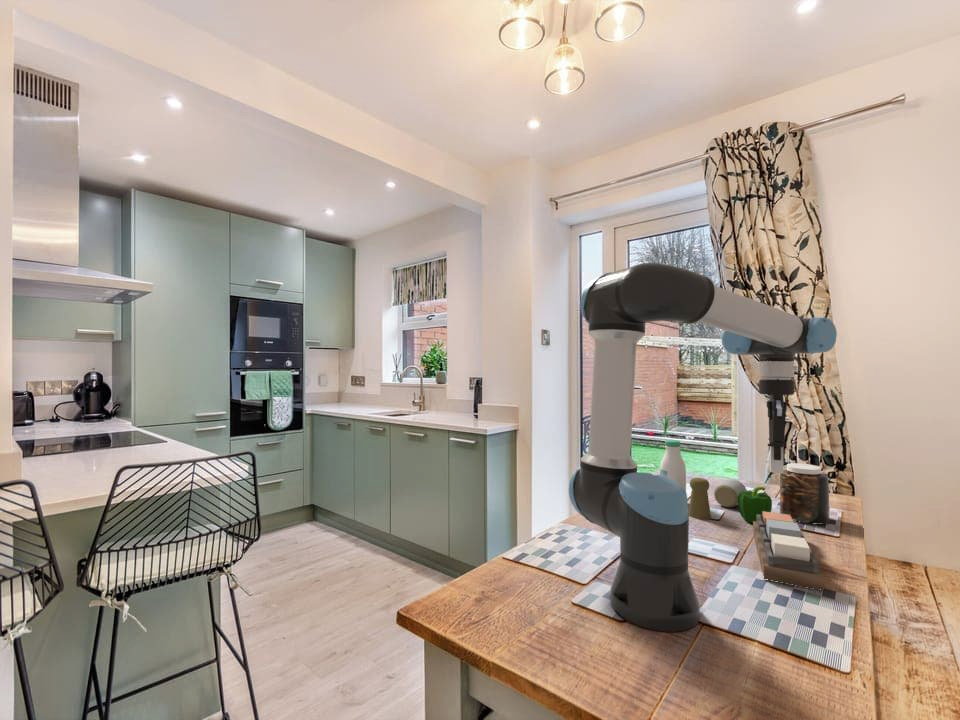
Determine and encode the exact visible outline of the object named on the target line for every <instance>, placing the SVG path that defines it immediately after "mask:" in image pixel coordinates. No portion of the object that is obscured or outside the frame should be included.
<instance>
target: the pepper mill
mask: <svg viewBox="0 0 960 720" xmlns="http://www.w3.org/2000/svg"><path fill="white" fill-rule="evenodd" d="M689 487H690V489H691V492H690V493H691V494H690V501H689V506H688V508H689V518H693V519H698V520H710V519H711V518H712V515H711V507H710V501H709V500H710V499H709V494H708V490H709V488H710V482H709V481H708V479H706V478H704V477H693V478H691V479H690V480H689ZM710 517H711V518H710ZM709 518H710V519H709Z"/></svg>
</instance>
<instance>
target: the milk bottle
mask: <svg viewBox="0 0 960 720" xmlns="http://www.w3.org/2000/svg"><path fill="white" fill-rule="evenodd" d="M664 447H665V452H664V455H663V457H662V459H661V461H660V468H659V475H660V476H663V477H666V478H669V479H671V480H673V481H675V482H677V483H678V484H679V485H681V486H682V487H683V489H684V490H685V492H686V493H687V471H686V469H687V468H686V463H685V461H684V459H683V457H682V454H681V441H680V440H676V439H667V440H665V442H664Z"/></svg>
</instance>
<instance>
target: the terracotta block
mask: <svg viewBox="0 0 960 720" xmlns="http://www.w3.org/2000/svg"><path fill="white" fill-rule="evenodd" d="M766 519H771V520H778V521H786V522H793V520H792V518H791V516H790V515H788V514H780V512H779V513H778V512H772V511H771V512H764V511H762V522H763V524H766Z"/></svg>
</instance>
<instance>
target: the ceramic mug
mask: <svg viewBox="0 0 960 720" xmlns="http://www.w3.org/2000/svg"><path fill="white" fill-rule="evenodd" d="M740 491H745V492H746V491H748V490H747V487H746V486H745V485H744V483H742V482H741V481H740V480H737V479H733V478H729V479H726V480H724V481H723V482H721V483H720V484H719V485H717V486H716V487H715V489H714V493H713V495H714V499H715V500H716V503H717V504H719V505H720V506H722V507H723V508H734V507H736V506H738V494H739V492H740Z"/></svg>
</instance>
